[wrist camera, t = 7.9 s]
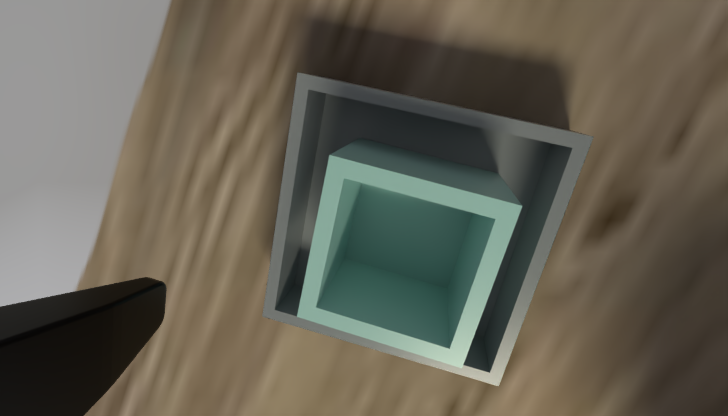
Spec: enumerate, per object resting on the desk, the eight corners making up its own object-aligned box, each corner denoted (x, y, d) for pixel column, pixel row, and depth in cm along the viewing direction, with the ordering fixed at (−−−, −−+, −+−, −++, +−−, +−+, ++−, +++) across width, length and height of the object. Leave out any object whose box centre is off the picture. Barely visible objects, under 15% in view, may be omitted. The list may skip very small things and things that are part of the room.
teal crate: (498, 173, 16) (522, 205, 12) (456, 297, 18) (461, 368, 14) (360, 137, 17) (329, 154, 12) (332, 261, 19) (296, 316, 14)
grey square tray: (566, 129, 16) (593, 136, 13) (489, 343, 19) (498, 386, 16) (321, 76, 17) (297, 72, 14) (287, 285, 20) (262, 316, 18)
